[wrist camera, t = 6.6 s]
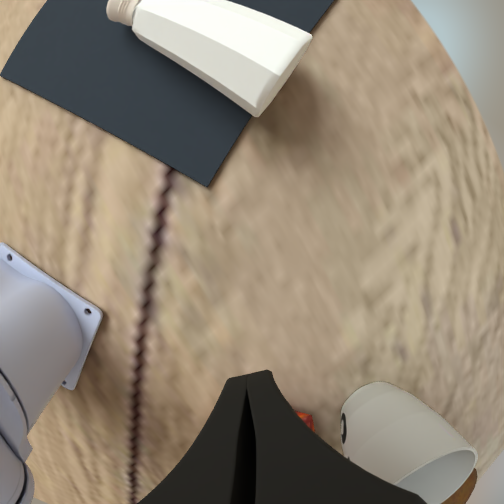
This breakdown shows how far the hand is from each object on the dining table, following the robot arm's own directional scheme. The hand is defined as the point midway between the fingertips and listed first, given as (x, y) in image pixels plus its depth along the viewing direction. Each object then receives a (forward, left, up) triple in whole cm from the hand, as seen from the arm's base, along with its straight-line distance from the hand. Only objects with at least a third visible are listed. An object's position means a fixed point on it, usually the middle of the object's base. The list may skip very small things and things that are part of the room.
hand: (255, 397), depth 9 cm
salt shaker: (-4, +11, -8) cm, 14 cm away
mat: (-14, +12, -10) cm, 21 cm away
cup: (+14, -4, -11) cm, 18 cm away
